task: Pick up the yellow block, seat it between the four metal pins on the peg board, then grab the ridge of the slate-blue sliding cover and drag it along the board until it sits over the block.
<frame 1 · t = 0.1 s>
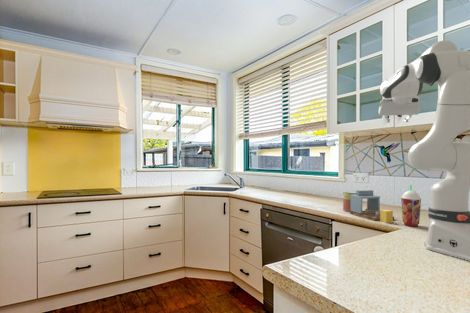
hand: (396, 122, 152), 54 cm above the countertop, tool tilted 30°, fingers open, 8 cm apart
peg board: (371, 216, 152), on the countertop
yellow block: (386, 222, 139), on the countertop
cover: (364, 201, 157), point 8 cm above the countertop, slide at 0.0 cm
canned food: (352, 211, 169), on the countertop
smoothie: (410, 225, 132), on the countertop
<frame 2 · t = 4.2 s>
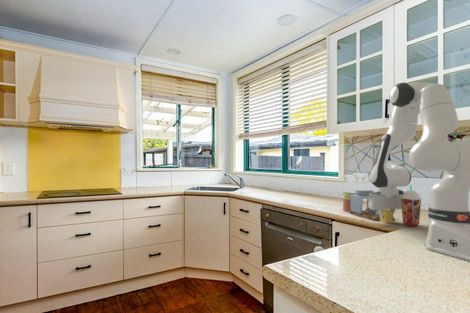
hand: (386, 217, 139), 2 cm above the countertop, tool pointing down, fingers closed on yellow block, 4 cm apart
yellow block: (386, 221, 139), on the countertop, touching gripper
everything else where it was.
when the fingers open (5 cm above the countertop, at t = 7.8 s): yellow block drops 1 cm, resting on peg board.
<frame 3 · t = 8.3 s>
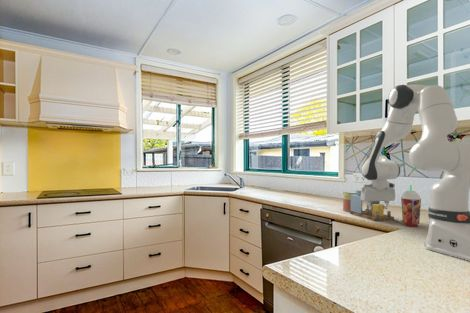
hand: (377, 209, 147), 5 cm above the countertop, tool pointing down, fingers open, 8 cm apart
yellow block: (377, 215, 147), point 1 cm above the countertop, touching peg board
everything else where it was.
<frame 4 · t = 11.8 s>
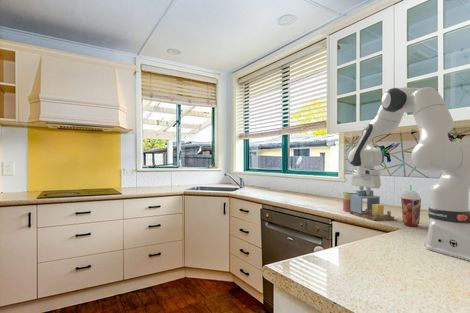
hand: (364, 194, 157), 12 cm above the countertop, tool pointing down, fingers closed on cover, 2 cm apart
cover: (364, 201, 157), point 8 cm above the countertop, slide at 0.0 cm, touching gripper
everything else where it was.
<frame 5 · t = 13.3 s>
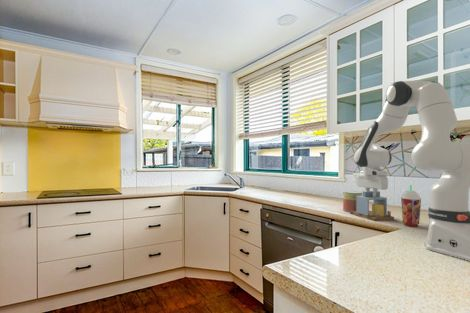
hand: (371, 196, 152), 12 cm above the countertop, tool pointing down, fingers closed on cover, 2 cm apart
cover: (371, 202, 152), point 8 cm above the countertop, slide at 5.2 cm, touching gripper
everything else where it was.
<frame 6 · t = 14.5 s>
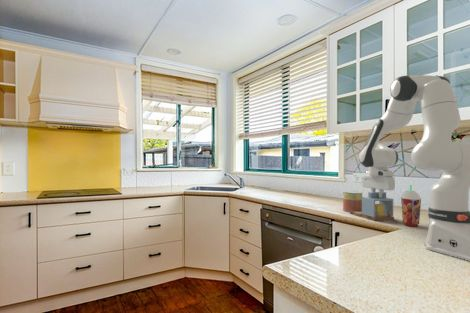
hand: (377, 197, 148), 12 cm above the countertop, tool pointing down, fingers closed on cover, 2 cm apart
cover: (377, 203, 148), point 8 cm above the countertop, slide at 9.6 cm, touching gripper
everything else where it was.
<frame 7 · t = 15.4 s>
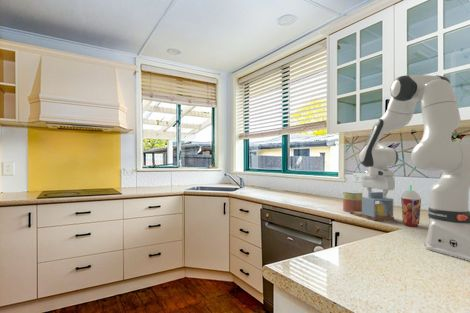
hand: (377, 196, 148), 12 cm above the countertop, tool pointing down, fingers open, 8 cm apart
cover: (377, 203, 148), point 8 cm above the countertop, slide at 9.6 cm
everything else where it was.
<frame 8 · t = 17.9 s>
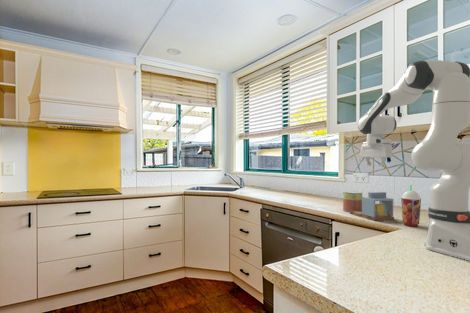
hand: (375, 165, 150), 29 cm above the countertop, tool pointing down, fingers open, 8 cm apart
nothing on the countertop moved.
at the end: yellow block 0.0 cm from the target spot on the peg board, point 1.5 cm above the peg board's base; yellow block tilted 0°; cover slide at 9.6 cm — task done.
